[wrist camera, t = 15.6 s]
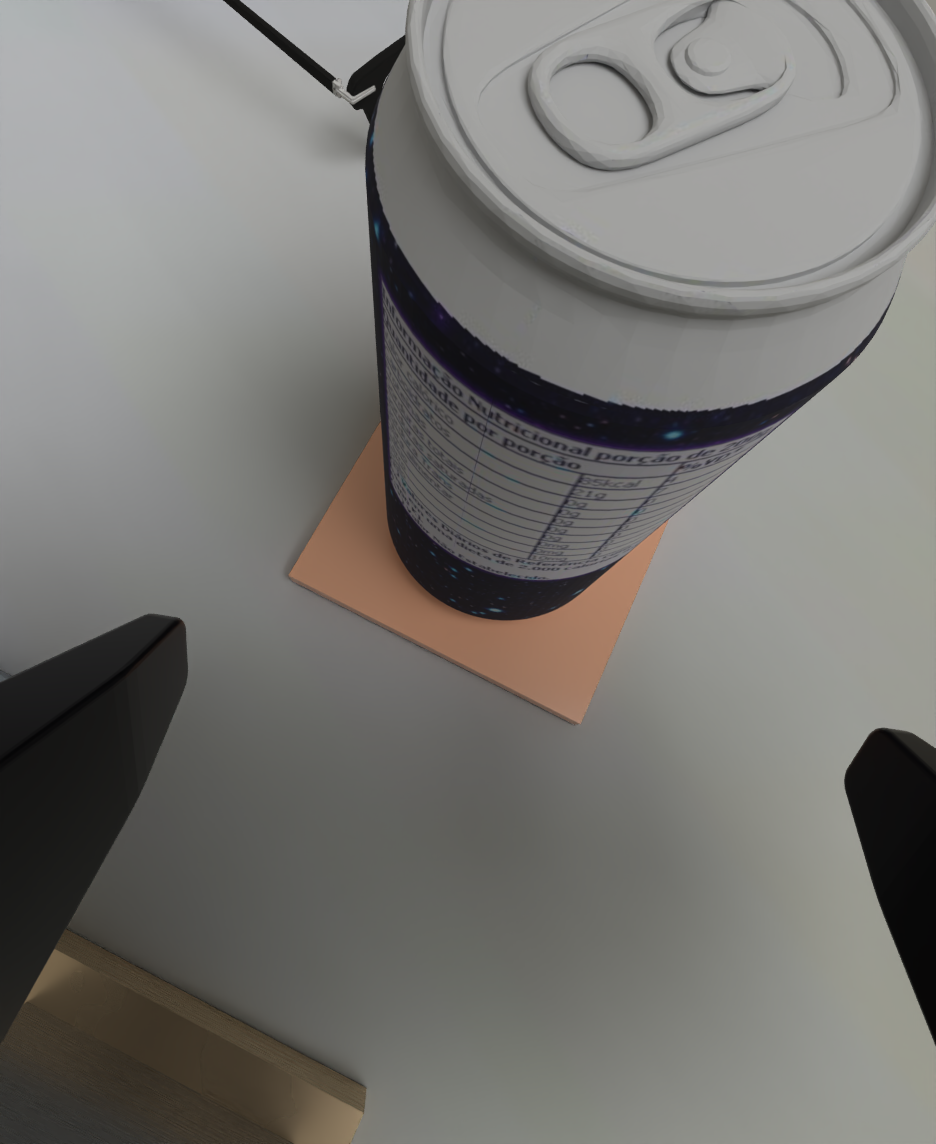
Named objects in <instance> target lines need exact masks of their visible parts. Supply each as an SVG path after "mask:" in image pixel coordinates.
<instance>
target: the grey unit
mask: <svg viewBox="0 0 936 1144" xmlns="http://www.w3.org/2000/svg"><path fill="white" fill-rule="evenodd" d="M365 1097H366V1088H365V1087H363V1086H362V1085H360V1084H358V1083H356V1082H354V1081H352V1080H350V1079H348V1078H346V1077H345V1076H343V1075H341V1074H339V1073H337V1072H335V1071H333V1070H331V1069H329V1068H328V1067H326V1066H324V1065H322V1064H320V1063H318V1062H316V1061H314V1060H312V1059H311V1058H309V1057H307V1056H305V1055H303V1054H301V1053H299V1052H297V1051H295V1050H294V1049H292V1048H290V1047H288V1046H286V1045H284V1044H282V1043H280V1042H278V1041H277V1040H275V1039H273V1038H271V1037H269V1036H267V1035H265V1034H263V1033H261V1032H260V1031H258V1030H256V1029H254V1028H252V1027H250V1026H248V1025H246V1024H244V1023H243V1022H241V1021H239V1020H237V1019H235V1018H233V1017H231V1016H229V1015H227V1014H226V1013H224V1012H222V1011H220V1010H218V1009H216V1008H214V1007H212V1006H210V1005H209V1004H207V1003H205V1002H203V1001H201V1000H199V999H197V998H195V997H193V996H192V995H190V994H188V993H186V992H184V991H182V990H180V989H178V988H176V987H175V986H173V985H171V984H169V983H167V982H165V981H163V980H161V979H159V978H158V977H156V976H154V975H152V974H150V973H148V972H146V971H144V970H142V969H141V968H139V967H137V966H135V965H133V964H131V963H129V962H127V961H125V960H124V959H122V958H120V957H118V956H116V955H114V954H112V953H110V952H108V951H107V950H105V949H103V948H101V947H99V946H97V945H95V944H93V943H91V942H90V941H88V940H86V939H84V938H82V937H80V936H78V935H76V934H74V933H73V932H71V931H69V930H67V929H65V931H64V933H63V934H62V936H61V938H60V940H59V941H58V943H57V945H56V947H55V949H54V950H53V952H52V954H51V956H50V958H49V959H48V961H47V963H46V965H45V967H44V968H43V970H42V972H41V974H40V975H39V977H38V979H37V981H36V983H35V984H34V986H33V988H32V990H31V992H30V993H29V995H28V997H27V999H26V1000H25V1002H24V1004H23V1006H22V1008H21V1009H20V1011H19V1013H18V1015H17V1017H16V1018H15V1020H14V1022H13V1024H12V1025H11V1027H10V1029H9V1031H8V1033H7V1034H6V1036H5V1038H4V1040H3V1042H2V1043H1V1045H0V1144H350V1143H351V1141H352V1139H353V1136H354V1134H355V1132H356V1130H357V1127H358V1125H359V1123H360V1121H361V1118H362V1116H363V1114H364V1107H365Z"/></svg>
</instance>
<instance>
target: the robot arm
mask: <svg viewBox="0 0 936 1144" xmlns="http://www.w3.org/2000/svg"><path fill="white" fill-rule="evenodd" d="M187 675H188V662H187V642H186V627H185V624H184V622H183V621H182V620H181V619H180V618H178V617H171V616H165V615H158V614H147V615H144V616H141V617H139V618H137V619H135V620H133V621H131V622H128V623H126V624H124V625H122V626H120V627H118V628H115V629H113V630H111V631H109V632H107V633H105V634H103V635H100V636H98V637H96V638H94V639H92V640H90V641H87V642H85V643H83V644H81V645H79V646H77V647H74V648H72V649H70V650H68V651H66V652H64V653H61V654H59V655H57V656H55V657H53V658H51V659H49V660H46V661H44V662H42V663H40V664H38V665H36V666H33V667H31V668H29V669H27V670H25V671H23V672H20V673H18V674H16V675H14V676H12V677H10V678H7V679H5V680H3V681H1V682H0V1045H1V1043H2V1042H3V1040H4V1038H5V1036H6V1034H7V1033H8V1031H9V1029H10V1027H11V1025H12V1024H13V1022H14V1020H15V1018H16V1017H17V1015H18V1013H19V1011H20V1009H21V1008H22V1006H23V1004H24V1002H25V1000H26V999H27V997H28V995H29V993H30V992H31V990H32V988H33V986H34V984H35V983H36V981H37V979H38V977H39V975H40V974H41V972H42V970H43V968H44V967H45V965H46V963H47V961H48V959H49V958H50V956H51V954H52V952H53V950H54V949H55V947H56V945H57V943H58V941H59V940H60V938H61V936H62V934H63V933H64V931H65V929H66V927H67V925H68V924H69V922H70V920H71V918H72V916H73V915H74V913H75V911H76V909H77V908H78V906H79V904H80V902H81V900H82V899H83V897H84V895H85V893H86V891H87V890H88V888H89V886H90V884H91V883H92V881H93V879H94V877H95V875H96V874H97V872H98V870H99V868H100V866H101V865H102V863H103V861H104V859H105V858H106V856H107V854H108V852H109V850H110V849H111V847H112V845H113V843H114V841H115V840H116V838H117V836H118V834H119V832H120V831H121V829H122V827H123V825H124V824H125V822H126V820H127V818H128V816H129V815H130V813H131V811H132V809H133V807H134V805H135V803H136V801H137V799H138V797H139V795H140V793H141V791H142V789H143V786H144V784H145V782H146V780H147V777H148V775H149V773H150V770H151V768H152V765H153V763H154V761H155V758H156V756H157V753H158V751H159V749H160V746H161V744H162V741H163V739H164V737H165V734H166V732H167V729H168V727H169V725H170V722H171V720H172V717H173V715H174V713H175V710H176V708H177V705H178V703H179V701H180V698H181V696H182V693H183V691H184V688H185V685H186V681H187ZM844 784H845V791H846V794H847V798H848V801H849V804H850V808H851V811H852V815H853V818H854V822H855V825H856V828H857V832H858V835H859V839H860V842H861V846H862V849H863V852H864V856H865V859H866V863H867V866H868V869H869V873H870V876H871V880H872V883H873V886H874V889H875V892H876V895H877V899H878V901H879V904H880V907H881V910H882V912H883V915H884V918H885V920H886V923H887V925H888V928H889V930H890V933H891V935H892V938H893V940H894V943H895V945H896V948H897V950H898V953H899V955H900V958H901V960H902V963H903V965H904V968H905V970H906V973H907V975H908V978H909V980H910V983H911V985H912V988H913V990H914V993H915V995H916V998H917V1000H918V1003H919V1005H920V1008H921V1010H922V1013H923V1015H924V1018H925V1020H926V1023H927V1025H928V1028H929V1030H930V1033H931V1035H932V1038H933V1040H934V1043H935V1045H936V748H934V747H933V746H931V745H930V744H928V743H927V742H925V741H924V740H922V739H921V738H919V737H918V736H916V735H915V734H913V733H910V732H907V731H902V730H895V729H889V728H878V729H875V730H874V731H872V732H871V733H870V734H869V736H868V737H867V739H866V740H865V742H864V743H863V745H862V746H861V748H860V750H859V751H858V753H857V754H856V756H855V757H854V759H853V760H852V762H851V764H850V765H849V767H848V768H847V770H846V774H845V779H844Z"/></svg>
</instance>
